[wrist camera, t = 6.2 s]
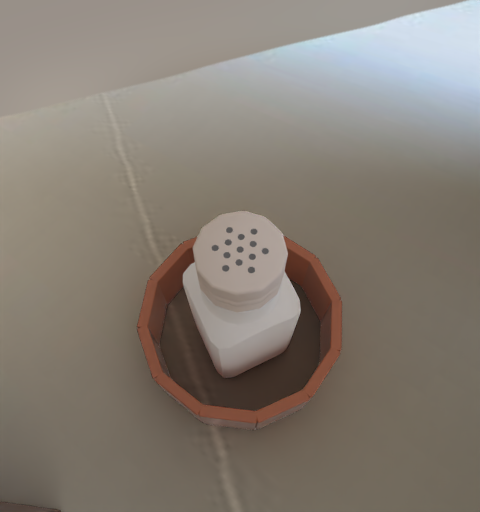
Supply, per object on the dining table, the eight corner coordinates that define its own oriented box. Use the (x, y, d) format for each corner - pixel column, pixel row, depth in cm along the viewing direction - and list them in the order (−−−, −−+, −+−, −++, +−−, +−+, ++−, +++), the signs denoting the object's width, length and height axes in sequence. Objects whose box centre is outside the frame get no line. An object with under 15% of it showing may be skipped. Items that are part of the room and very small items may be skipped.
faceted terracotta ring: (331, 264, 24) (342, 236, 22) (327, 439, 20) (340, 434, 17) (171, 247, 25) (162, 218, 22) (134, 415, 21) (117, 405, 18)
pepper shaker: (191, 317, 23) (162, 225, 15) (257, 287, 24) (265, 184, 15) (222, 385, 21) (209, 326, 13) (291, 350, 22) (322, 274, 14)
